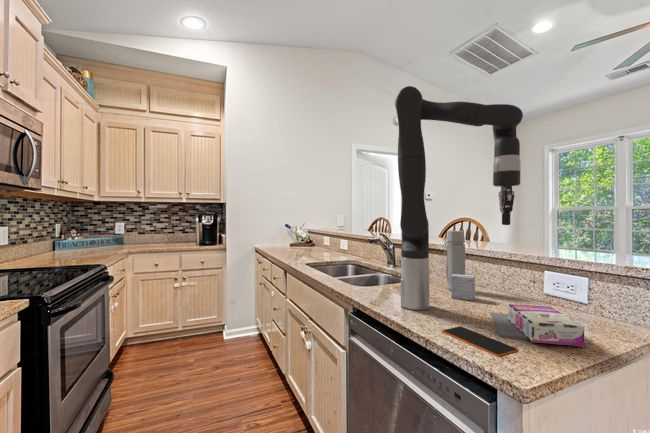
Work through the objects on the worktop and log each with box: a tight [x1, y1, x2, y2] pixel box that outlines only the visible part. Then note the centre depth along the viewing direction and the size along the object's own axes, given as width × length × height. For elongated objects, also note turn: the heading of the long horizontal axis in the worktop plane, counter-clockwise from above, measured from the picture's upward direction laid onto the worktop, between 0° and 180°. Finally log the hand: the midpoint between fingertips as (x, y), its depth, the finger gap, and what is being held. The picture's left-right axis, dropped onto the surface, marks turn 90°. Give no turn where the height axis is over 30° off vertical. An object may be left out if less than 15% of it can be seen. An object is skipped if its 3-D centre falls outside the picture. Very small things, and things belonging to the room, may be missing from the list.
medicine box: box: [450, 274, 476, 301], centre depth 116 cm, size 8×4×9 cm, turn 58°
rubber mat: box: [490, 312, 588, 348], centre depth 84 cm, size 18×19×1 cm
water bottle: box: [441, 230, 466, 291], centre depth 129 cm, size 9×8×25 cm
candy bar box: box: [507, 303, 585, 347], centre depth 80 cm, size 11×5×16 cm
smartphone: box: [441, 325, 519, 358], centre depth 77 cm, size 8×17×1 cm, turn 25°
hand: (505, 224), depth 97 cm, fingers closed
